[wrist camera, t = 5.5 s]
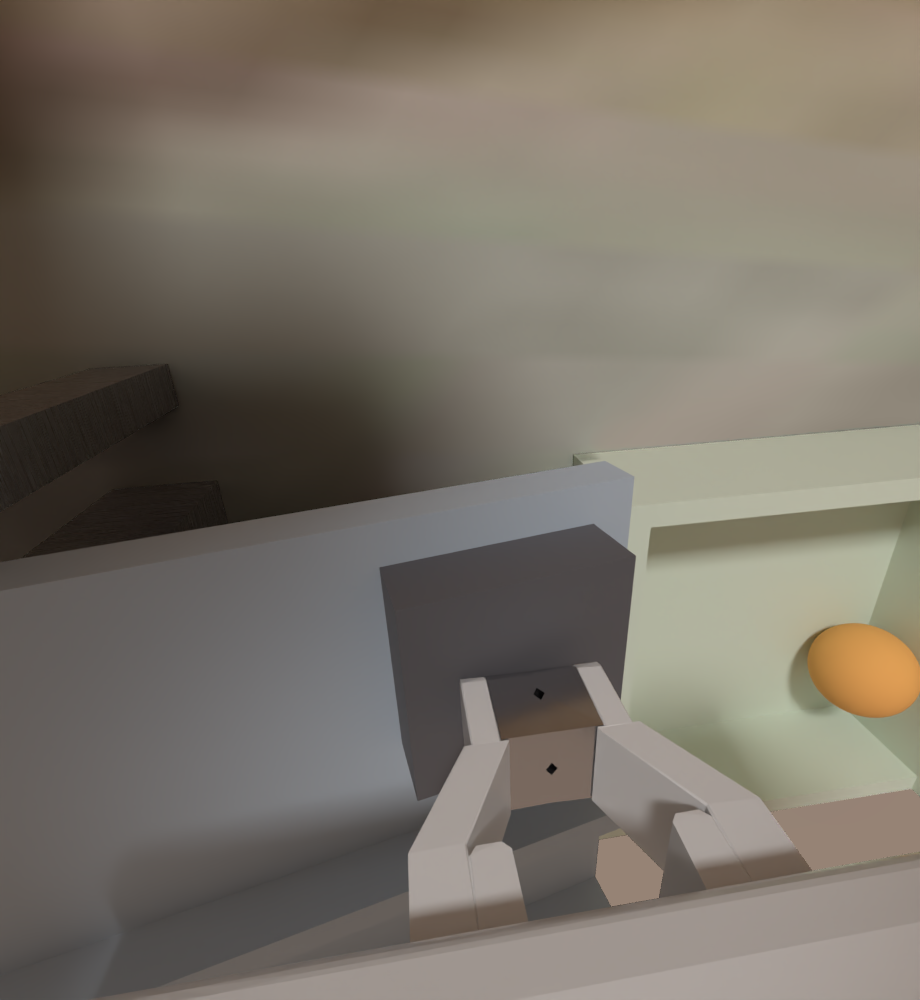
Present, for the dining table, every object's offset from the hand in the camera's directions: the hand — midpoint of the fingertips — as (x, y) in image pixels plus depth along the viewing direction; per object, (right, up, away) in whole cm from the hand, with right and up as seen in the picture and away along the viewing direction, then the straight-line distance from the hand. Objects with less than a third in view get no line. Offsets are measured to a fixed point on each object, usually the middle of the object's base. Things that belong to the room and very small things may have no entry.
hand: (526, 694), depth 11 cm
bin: (+11, -1, +13) cm, 17 cm away
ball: (+17, -4, +12) cm, 21 cm away
